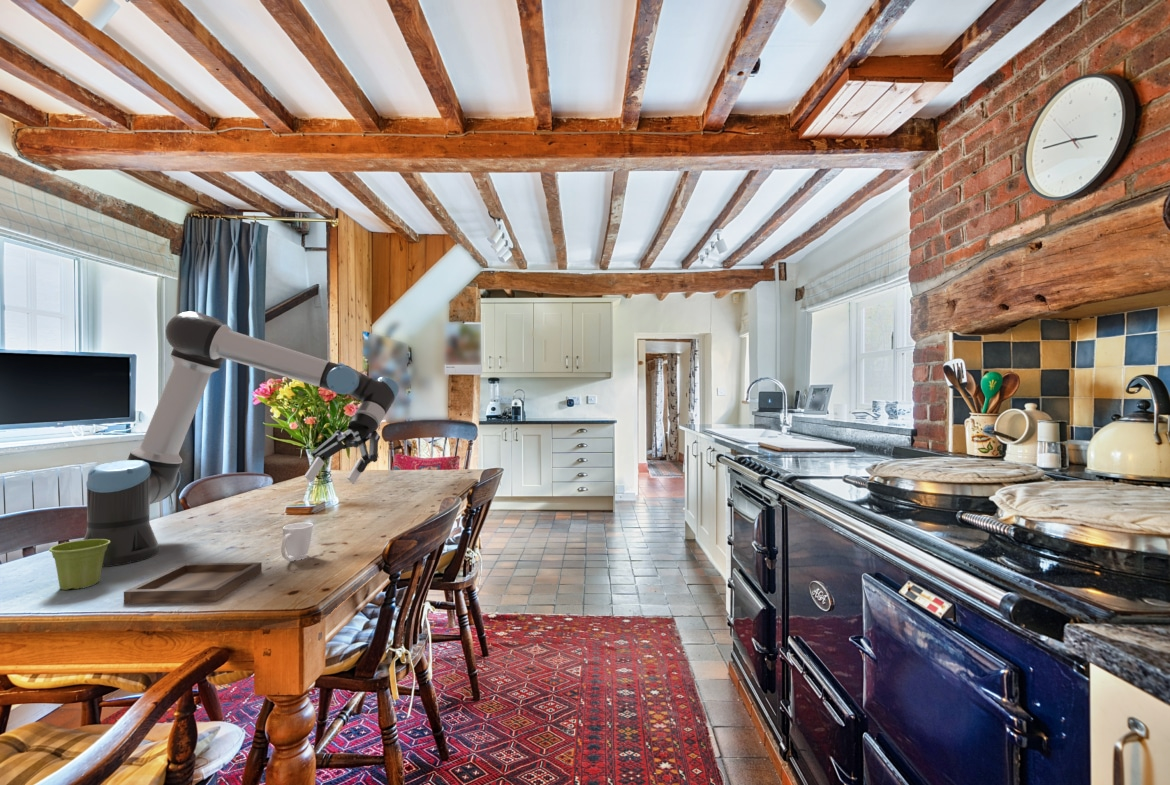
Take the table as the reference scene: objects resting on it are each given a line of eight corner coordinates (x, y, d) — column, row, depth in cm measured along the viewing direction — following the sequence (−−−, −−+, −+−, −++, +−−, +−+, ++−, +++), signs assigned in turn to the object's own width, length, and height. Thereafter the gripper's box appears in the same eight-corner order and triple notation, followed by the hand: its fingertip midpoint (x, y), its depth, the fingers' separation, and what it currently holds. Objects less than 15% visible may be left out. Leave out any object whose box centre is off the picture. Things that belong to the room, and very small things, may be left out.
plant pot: (95, 575, 119) (95, 536, 119) (119, 581, 115) (119, 541, 115) (39, 589, 110) (39, 547, 110) (64, 596, 107) (64, 553, 107)
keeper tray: (123, 603, 103) (123, 591, 103) (183, 573, 120) (183, 563, 120) (215, 601, 104) (215, 589, 104) (261, 572, 121) (261, 562, 121)
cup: (319, 553, 135) (319, 522, 135) (297, 566, 125) (297, 532, 125) (292, 553, 136) (292, 522, 136) (268, 566, 125) (268, 532, 126)
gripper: (408, 429, 154) (375, 490, 140) (337, 428, 161) (299, 486, 147) (397, 412, 149) (362, 473, 135) (324, 411, 156) (283, 469, 142)
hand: (329, 480), depth 141 cm, fingers open, 13 cm apart
